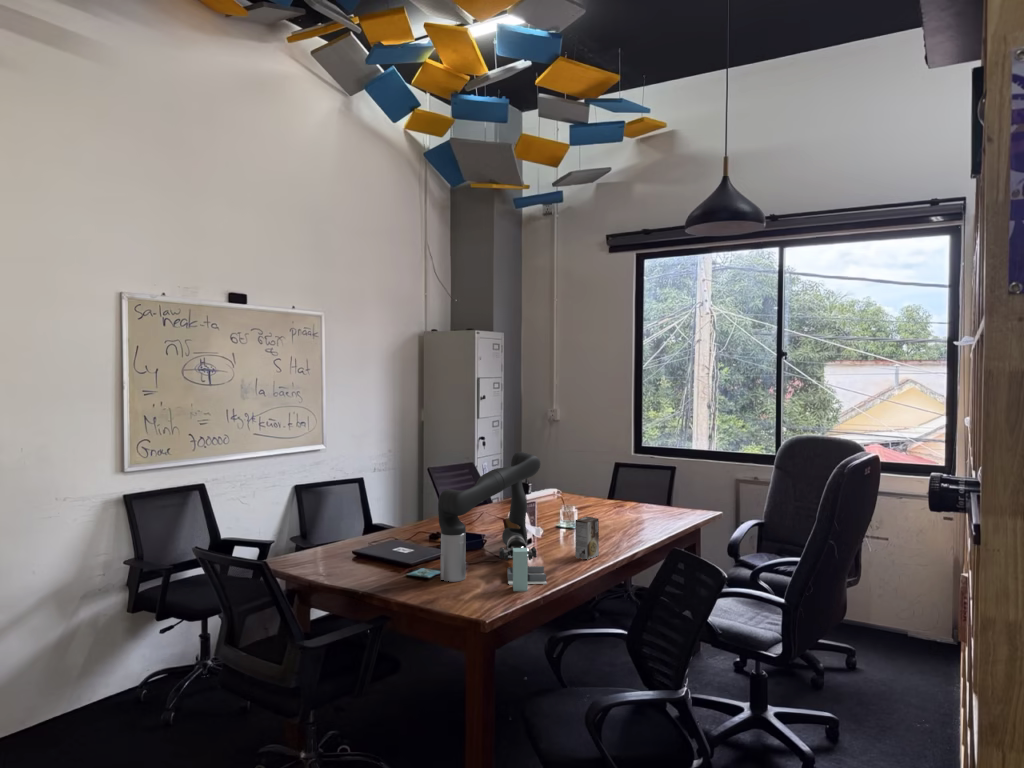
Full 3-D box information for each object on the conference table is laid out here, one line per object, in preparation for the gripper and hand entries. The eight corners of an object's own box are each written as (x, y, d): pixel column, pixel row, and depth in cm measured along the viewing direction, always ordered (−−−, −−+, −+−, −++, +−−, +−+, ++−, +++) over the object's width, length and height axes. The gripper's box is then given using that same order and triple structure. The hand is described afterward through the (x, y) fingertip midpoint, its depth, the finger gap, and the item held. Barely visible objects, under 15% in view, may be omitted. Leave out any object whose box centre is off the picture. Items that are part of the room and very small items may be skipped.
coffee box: (586, 553, 284) (586, 516, 284) (599, 556, 280) (599, 518, 280) (574, 557, 277) (574, 519, 277) (587, 560, 273) (587, 521, 273)
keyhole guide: (508, 584, 241) (508, 576, 241) (507, 572, 256) (507, 565, 256) (546, 584, 241) (546, 576, 241) (543, 572, 256) (543, 564, 256)
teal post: (513, 591, 234) (513, 551, 234) (512, 586, 239) (512, 548, 239) (527, 590, 234) (527, 551, 234) (526, 586, 239) (526, 547, 239)
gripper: (498, 537, 263) (499, 548, 247) (534, 537, 264) (537, 547, 248) (498, 556, 263) (499, 568, 247) (534, 555, 264) (537, 567, 248)
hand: (518, 557), depth 247 cm, fingers open, 8 cm apart
